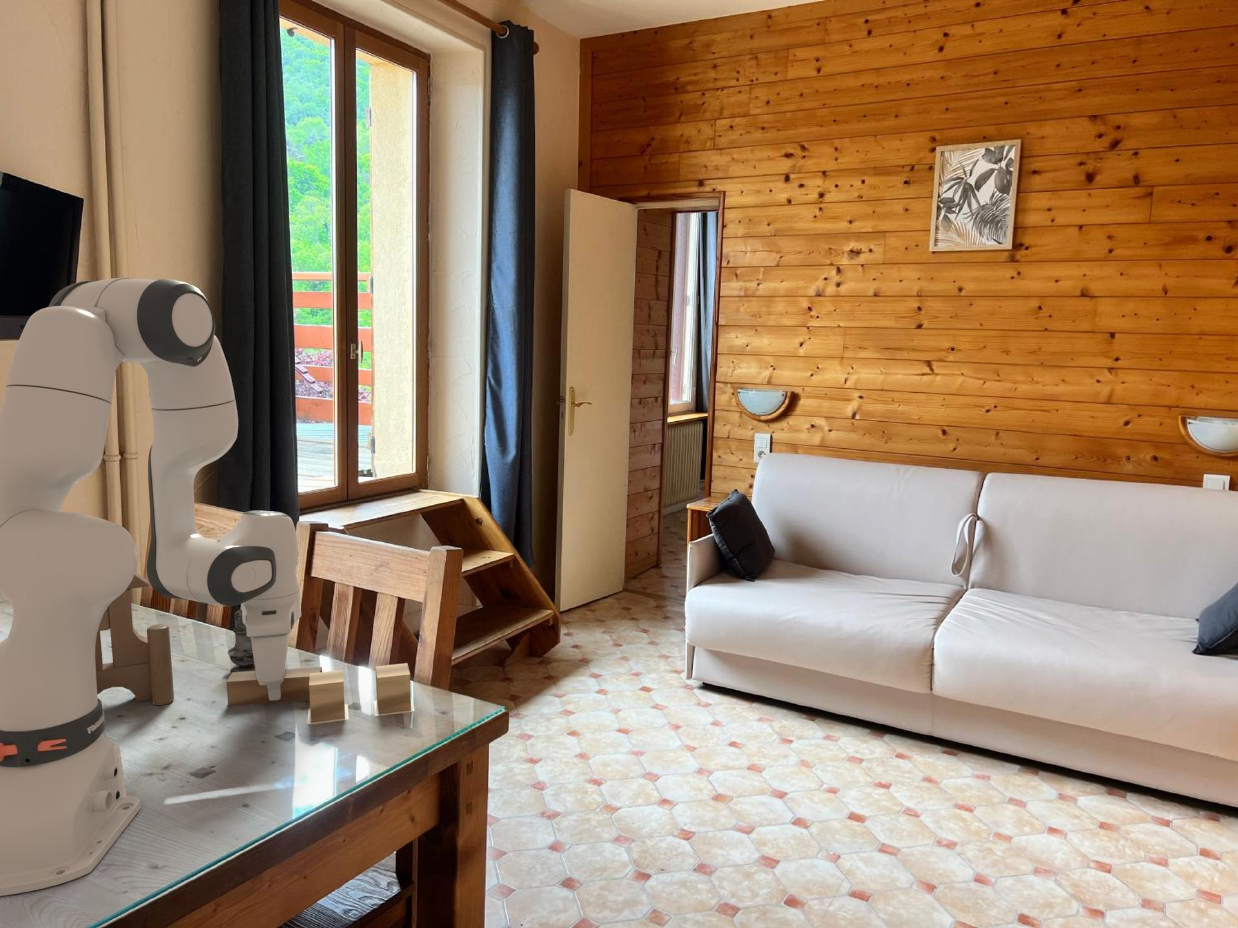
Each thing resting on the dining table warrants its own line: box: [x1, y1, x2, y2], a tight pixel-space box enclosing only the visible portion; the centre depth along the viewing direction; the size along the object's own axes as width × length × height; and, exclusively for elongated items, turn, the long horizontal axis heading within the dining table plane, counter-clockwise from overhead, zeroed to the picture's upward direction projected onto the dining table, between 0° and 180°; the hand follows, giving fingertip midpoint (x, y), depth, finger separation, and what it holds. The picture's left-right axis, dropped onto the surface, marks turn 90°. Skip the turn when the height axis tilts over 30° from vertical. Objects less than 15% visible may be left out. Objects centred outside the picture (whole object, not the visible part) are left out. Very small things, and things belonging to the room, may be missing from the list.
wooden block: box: [226, 666, 323, 707], centre depth 145 cm, size 4×14×5 cm, turn 101°
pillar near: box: [309, 669, 346, 723], centre depth 138 cm, size 5×5×6 cm
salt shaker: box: [227, 604, 256, 674], centre depth 158 cm, size 6×6×12 cm
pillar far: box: [375, 662, 412, 714], centre depth 141 cm, size 5×5×6 cm
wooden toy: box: [95, 571, 175, 706], centre depth 141 cm, size 15×7×25 cm, turn 120°
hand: (276, 690), depth 145 cm, fingers open, 5 cm apart
